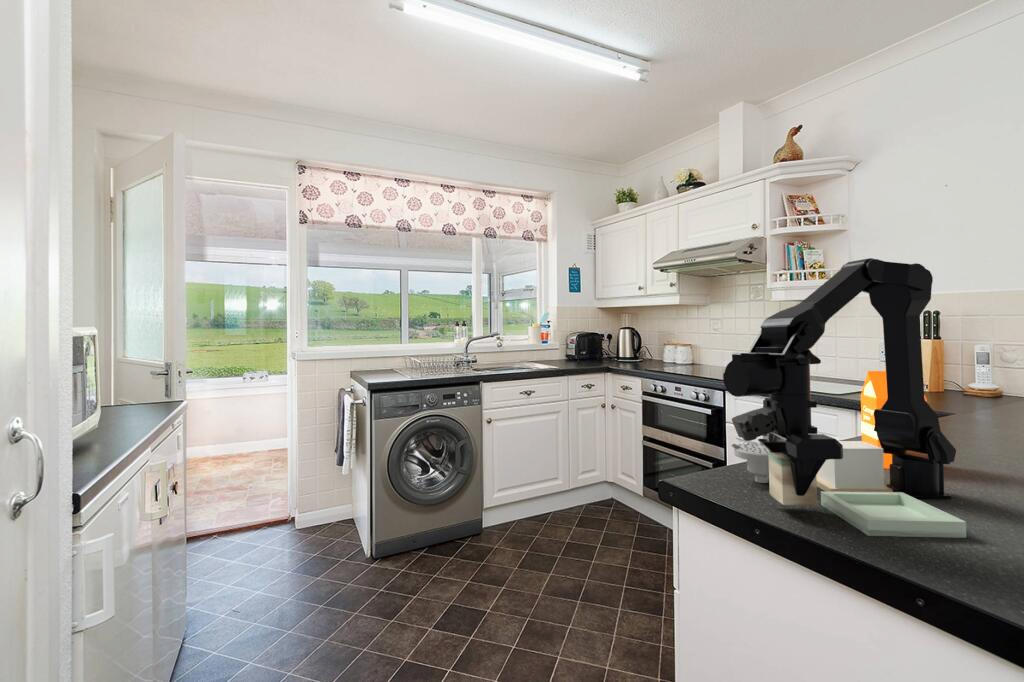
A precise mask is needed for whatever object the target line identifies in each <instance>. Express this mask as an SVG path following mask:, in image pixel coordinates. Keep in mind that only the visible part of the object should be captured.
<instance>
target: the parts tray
mask: <svg viewBox="0 0 1024 682" xmlns="http://www.w3.org/2000/svg"><path fill="white" fill-rule="evenodd" d="M820 504H821V506H822V507H824V508H825V509H827V510H829V511H830V512H831V513H833V514H834V515H836V516H838V517H839V518H840V519H842V520H844V521H845V522H847V523H848V524H849V525H851V526H853V527H854V528H856V529H857V530H859V532H862V533H863V534H864V535H866V536H868V537H869V536H870V537H904V538H905V537H911V538H912V537H913V538H914V537H915V538H955V539H958V538H959V539H962V538H963V539H964V538H965V539H967V521H965V520H963V519H961V518H959V517H957V516H954V515H953V514H951V513H949V512H946V511H943V510H941V509H939V508H937V507H935V506H933V505H931V504H929V503H926V502H924V501H922V500H920V499H917V498H914V497H911V496H909V495H907V494H905V493H903V492H898V491H895V492H894V491H893V492H826V491H824V490H823V491H820Z"/></svg>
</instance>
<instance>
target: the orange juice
mask: <svg viewBox="0 0 1024 682" xmlns="http://www.w3.org/2000/svg"><path fill="white" fill-rule="evenodd" d="M924 398H925V401H926V402H927V401H928V400H927V398H926V396H925V394H924ZM886 401H887V381H886V370H868V371H867V374H866V378H865V380H864V383H863V386H862V390H861V393H860V408H861V409H860V410H861V411H860V413H861V414H860V415H861V421H860V427H861V428H860V429H861V441H863V442H866V443H869V444H872V445H875V446H877V447H880V448H881V445H880V442H879V439H878V437H877V433H876V431H874V427H875V419H874V411H875V409H881V408H882V406H883V405H884V403H885V402H886ZM927 403H928V402H927ZM883 456H884V470H885V469H887V470H890V464H892V454H886V453H883Z"/></svg>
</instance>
